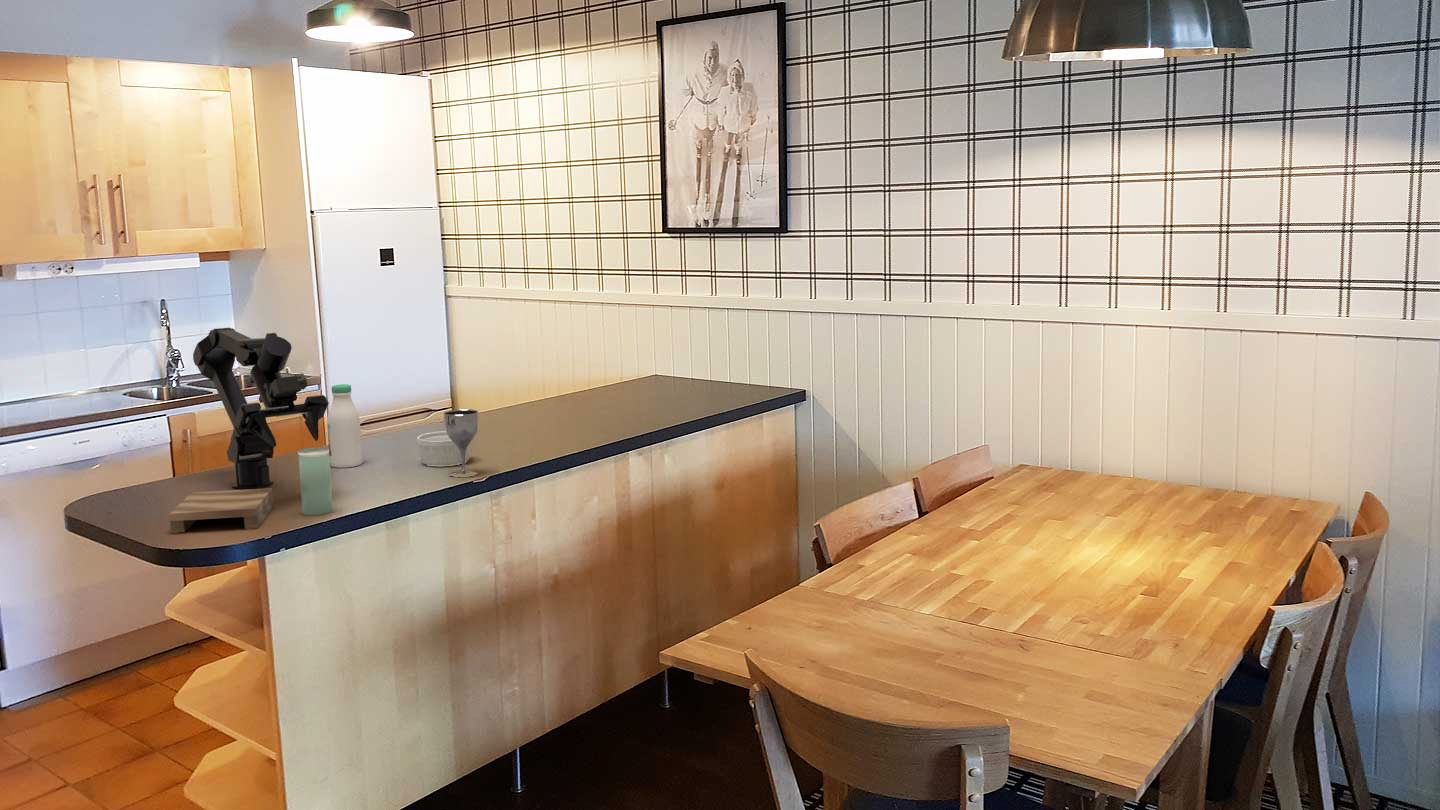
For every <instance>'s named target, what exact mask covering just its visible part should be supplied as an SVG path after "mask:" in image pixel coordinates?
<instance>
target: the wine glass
mask: <svg viewBox="0 0 1440 810" xmlns="http://www.w3.org/2000/svg"><path fill="white" fill-rule="evenodd" d="M443 420H444V421H443V422H444V428H445V431H446V432H447V435H448V437H449V438H450V439H451V440H452V441H453V442H454V443H455V444H456V446H457V447H458V448H459V450H460V453H461V459H462V465H461V469H459V470H458V472H457V471H454V472H455V473H456V474H466V473H469V472H471V471H472V470H469V469H467V468H466V463H465V455H466V449H467V447H468V445H469V444H470V443H472V441H473V440H474V439H475V437H476V435H477V433H478V429H479V411H478V410H477V409H467V408H466V409H463V408H462V409H461V408H460V409H452V410H446V411H444V412H443Z"/></svg>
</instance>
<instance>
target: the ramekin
mask: <svg viewBox="0 0 1440 810" xmlns="http://www.w3.org/2000/svg"><path fill="white" fill-rule="evenodd" d="M416 441H417V444H418V450H419V456H420V460H421V463H423V465H425V464H427V465H451V464H457V463H462V459H461V453H460V450H459V448H458V447H457V446H456V444H455V443H454V442H453V441H452V440H451V439H450V438H449V437H448V435H447V432H446V430H442V431H432V432H427V433H422V434H420V435H419V436H418V435H417V438H416ZM471 443H472V442H471ZM471 443H470V444H469V445H468V447H467V449H466V455H465V461H467V460H468V459H470V456H471ZM468 461H469V460H468ZM468 461H467V462H468Z"/></svg>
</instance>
